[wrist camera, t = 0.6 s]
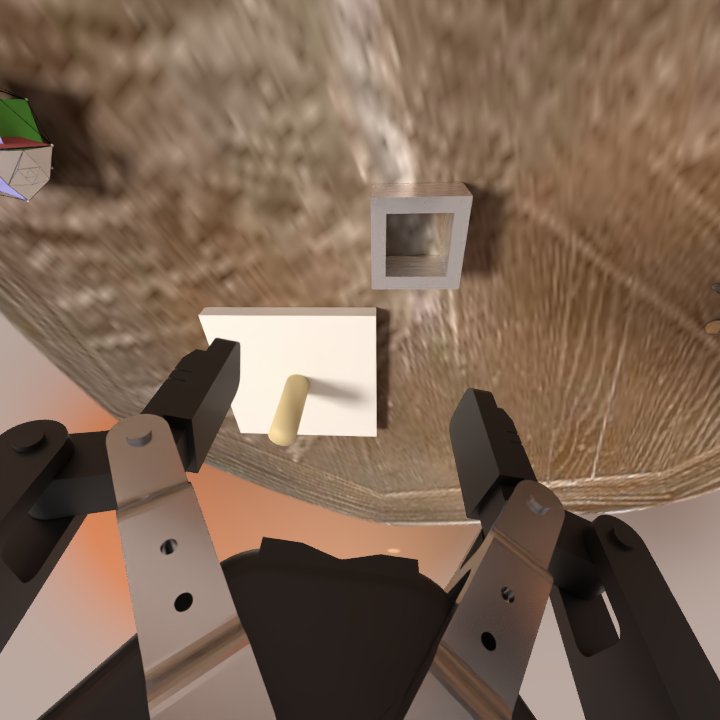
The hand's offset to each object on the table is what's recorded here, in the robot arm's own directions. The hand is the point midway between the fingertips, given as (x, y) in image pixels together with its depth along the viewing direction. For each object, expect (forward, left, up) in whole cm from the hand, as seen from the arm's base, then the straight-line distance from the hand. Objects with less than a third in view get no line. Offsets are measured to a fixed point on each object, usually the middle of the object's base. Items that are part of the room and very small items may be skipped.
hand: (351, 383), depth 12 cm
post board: (+8, +16, -19) cm, 26 cm away
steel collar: (-3, +1, -19) cm, 19 cm away
